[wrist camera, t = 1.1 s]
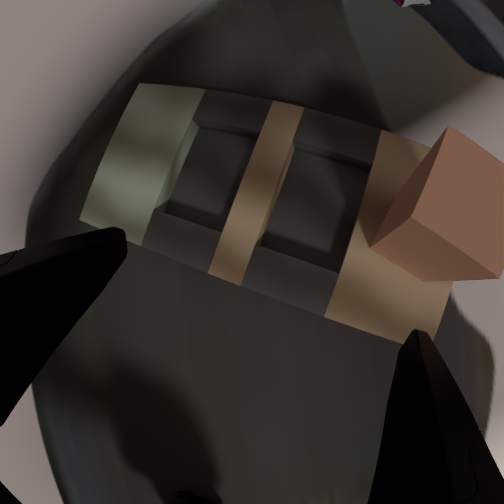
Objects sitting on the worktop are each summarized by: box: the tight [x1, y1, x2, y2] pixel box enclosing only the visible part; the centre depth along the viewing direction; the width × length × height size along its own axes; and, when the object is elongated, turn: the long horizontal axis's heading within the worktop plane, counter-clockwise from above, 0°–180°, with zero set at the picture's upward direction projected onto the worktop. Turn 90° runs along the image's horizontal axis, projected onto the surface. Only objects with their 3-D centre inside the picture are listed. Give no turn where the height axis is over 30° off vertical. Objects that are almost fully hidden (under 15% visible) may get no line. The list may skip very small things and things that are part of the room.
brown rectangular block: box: [369, 125, 504, 282], centre depth 14 cm, size 4×4×10 cm
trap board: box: [79, 83, 453, 344], centre depth 23 cm, size 14×30×2 cm, turn 70°
